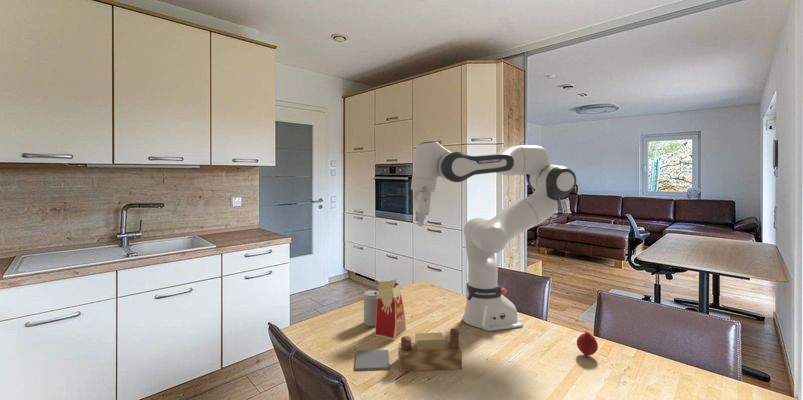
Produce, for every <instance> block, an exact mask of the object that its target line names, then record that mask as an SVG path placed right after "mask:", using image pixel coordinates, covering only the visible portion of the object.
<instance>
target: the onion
mask: <svg viewBox="0 0 803 400" xmlns="http://www.w3.org/2000/svg"><path fill="white" fill-rule="evenodd" d="M576 347H577V349H578V350H579V351H580V352H581V353H582V354H583V356H585V355H588V356H587V357H589V356H592V355H594V354H595V353H596V352H597V351H598V349H599V345H598V342H597V340H596V338H595V337H594V336H593V335H592V334H591V333H590V332H589V331H588V330H585V331H584V333H582V334H580V335H579V336H578V337H577V340H576Z"/></svg>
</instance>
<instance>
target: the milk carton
mask: <svg viewBox="0 0 803 400" xmlns="http://www.w3.org/2000/svg"><path fill="white" fill-rule="evenodd" d="M376 282H377V283H378V290H377V291H378V298H377V310H376V326H374V327H375V329H374V331H375V332H374V333H375V334H374V336H375V337H377V338H384V339H386V340H390V341H393V342H394V341H396V340H397V339H398V338H400V337H401V336H402V335H403V334H404V333H405V332H406V331H407V323H406V313H405V308H404V302H403V297H402V291H401V287H400V284H399V283H398V282H397V278H393V279H389V280H378V281H376Z"/></svg>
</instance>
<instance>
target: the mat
mask: <svg viewBox="0 0 803 400" xmlns="http://www.w3.org/2000/svg"><path fill="white" fill-rule="evenodd" d="M355 354H356V355H355V364H354V371H371V370H372V371H373V370H375V371H377V370H390V369H391V366H390V358H389V349H375V350H374V349H372V350H370V349H369V350H356V353H355Z"/></svg>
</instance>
